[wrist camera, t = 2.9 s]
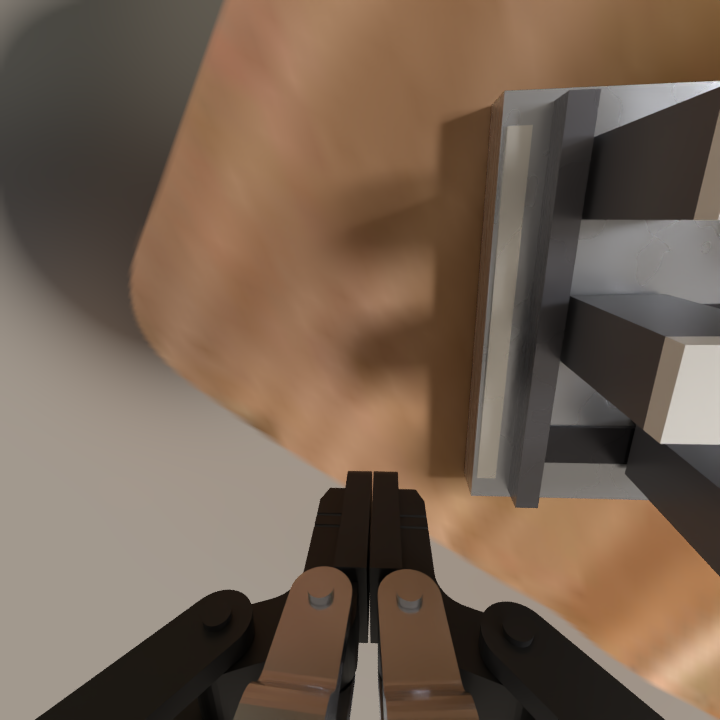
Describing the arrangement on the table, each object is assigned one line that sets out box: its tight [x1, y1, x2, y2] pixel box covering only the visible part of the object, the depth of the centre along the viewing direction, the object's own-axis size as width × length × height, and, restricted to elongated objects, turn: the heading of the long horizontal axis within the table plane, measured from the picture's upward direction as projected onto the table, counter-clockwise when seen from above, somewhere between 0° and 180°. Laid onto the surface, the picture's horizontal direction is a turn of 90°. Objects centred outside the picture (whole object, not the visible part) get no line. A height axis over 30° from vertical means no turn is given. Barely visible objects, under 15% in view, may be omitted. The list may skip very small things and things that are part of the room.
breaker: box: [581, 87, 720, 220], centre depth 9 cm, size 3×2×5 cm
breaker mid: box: [560, 294, 720, 445], centre depth 11 cm, size 3×2×5 cm
